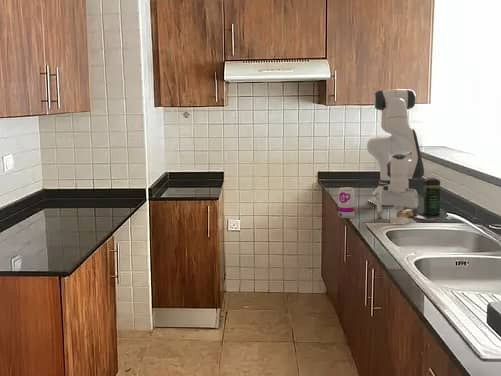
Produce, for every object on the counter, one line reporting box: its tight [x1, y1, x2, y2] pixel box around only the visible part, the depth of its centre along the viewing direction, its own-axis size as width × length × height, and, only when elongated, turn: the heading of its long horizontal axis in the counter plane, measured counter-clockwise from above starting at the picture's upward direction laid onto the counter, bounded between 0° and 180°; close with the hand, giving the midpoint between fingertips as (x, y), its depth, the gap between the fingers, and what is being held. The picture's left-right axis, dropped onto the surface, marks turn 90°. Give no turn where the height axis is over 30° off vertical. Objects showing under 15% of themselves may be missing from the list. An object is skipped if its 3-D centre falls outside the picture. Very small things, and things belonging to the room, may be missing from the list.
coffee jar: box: [423, 177, 441, 216], centre depth 297 cm, size 10×8×19 cm
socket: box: [390, 216, 410, 225], centre depth 275 cm, size 6×6×2 cm
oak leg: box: [396, 207, 418, 218], centre depth 289 cm, size 17×4×3 cm, turn 141°
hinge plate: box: [409, 213, 435, 221], centre depth 289 cm, size 18×6×1 cm, turn 20°
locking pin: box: [376, 204, 383, 220], centre depth 290 cm, size 3×3×7 cm
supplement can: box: [337, 186, 356, 219], centre depth 297 cm, size 8×8×15 cm
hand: (399, 214), depth 288 cm, fingers closed
